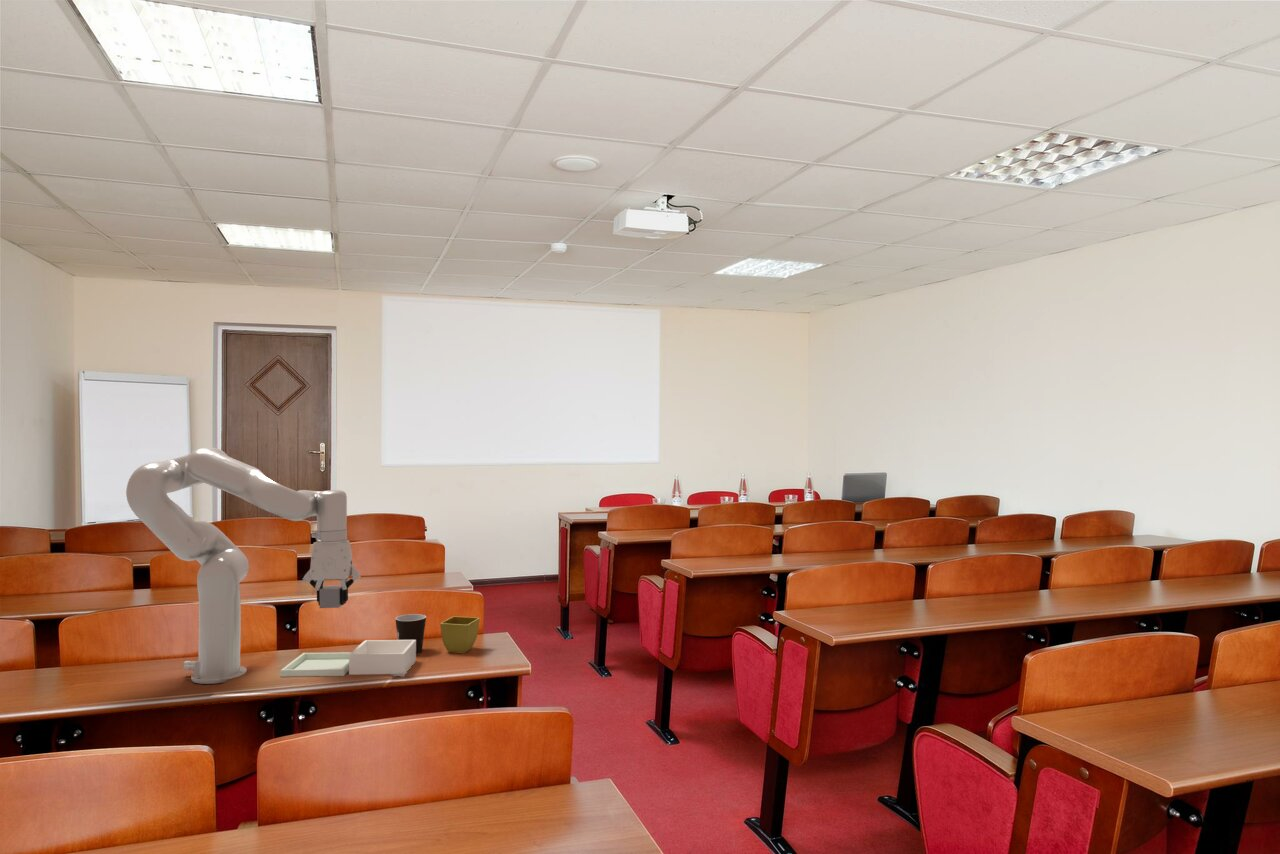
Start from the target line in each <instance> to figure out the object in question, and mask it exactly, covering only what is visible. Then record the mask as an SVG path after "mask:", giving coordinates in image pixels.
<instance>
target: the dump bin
mask: <svg viewBox="0 0 1280 854" xmlns="http://www.w3.org/2000/svg"><path fill="white" fill-rule="evenodd" d="M416 662H417V654H416V640H398V639H365V640H363V641H362V642H361V643H360V644H359V645H358V646H356V648H355V649H353V650H352V651H351V653H350V654H349V671H348V675H349V676H351V675H352V676H355V675H358V676H359V675H363V676H364V675H365V676H366V675H390V676H404V675H405V674H406V675H407V673H408V672H409V671H410V670H409V669H411V668H412V667H413V666H414V664H415V663H416ZM412 665H413V666H412ZM411 666H412V667H411ZM408 670H409V671H408ZM407 671H408V672H407ZM406 675H405V676H406ZM405 676H404V677H405Z"/></svg>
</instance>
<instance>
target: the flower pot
mask: <svg viewBox="0 0 1280 854" xmlns="http://www.w3.org/2000/svg"><path fill="white" fill-rule="evenodd" d="M479 625H480V617H473V616H472V617H471V616H457V615H455V616H454V615H453V616H451V617H449V618H448V619H446V620H444V621H442V622H440V632H441V633H440V634H441V640H442V643H443V645H444V647H445V649H446V651H448V653H459V654H466V653H467V652H468V651H470V650H471V649H472V648H473V646H474V644H475V642H476V640H477V637H478V633H479Z"/></svg>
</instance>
